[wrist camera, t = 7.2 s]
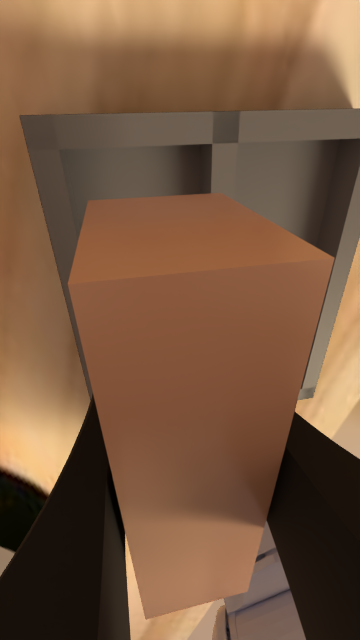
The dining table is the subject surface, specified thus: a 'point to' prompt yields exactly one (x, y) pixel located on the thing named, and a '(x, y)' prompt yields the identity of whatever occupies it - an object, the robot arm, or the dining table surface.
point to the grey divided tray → (208, 180)
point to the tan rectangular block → (194, 377)
